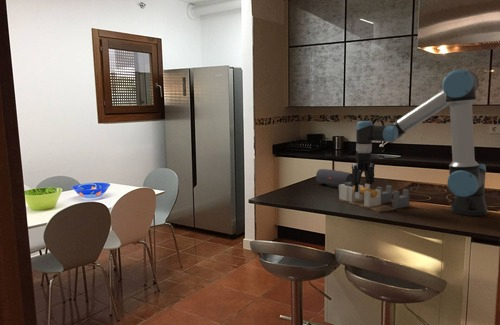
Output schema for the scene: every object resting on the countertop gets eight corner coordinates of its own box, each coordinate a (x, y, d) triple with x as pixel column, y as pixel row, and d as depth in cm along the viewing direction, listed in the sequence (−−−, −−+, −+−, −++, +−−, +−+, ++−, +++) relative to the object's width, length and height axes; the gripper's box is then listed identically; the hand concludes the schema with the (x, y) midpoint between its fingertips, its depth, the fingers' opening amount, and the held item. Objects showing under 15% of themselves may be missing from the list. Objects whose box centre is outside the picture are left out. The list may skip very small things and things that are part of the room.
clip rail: (395, 209, 201) (395, 208, 201) (380, 212, 196) (380, 211, 196) (352, 197, 227) (352, 196, 227) (337, 199, 222) (337, 198, 222)
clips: (381, 204, 208) (381, 190, 207) (367, 207, 204) (368, 192, 203) (351, 196, 226) (351, 183, 225) (338, 198, 222) (338, 184, 221)
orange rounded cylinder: (379, 197, 205) (379, 188, 205) (372, 198, 203) (373, 189, 203) (350, 189, 223) (351, 181, 222) (344, 190, 221) (344, 182, 220)
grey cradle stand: (408, 206, 207) (409, 190, 206) (397, 208, 203) (398, 191, 202) (387, 200, 219) (387, 185, 218) (376, 202, 216) (376, 186, 214)
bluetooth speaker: (315, 184, 263) (315, 169, 262) (324, 182, 269) (324, 167, 268) (345, 190, 246) (345, 173, 245) (354, 188, 252) (355, 171, 251)
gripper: (372, 150, 217) (370, 193, 220) (344, 152, 208) (343, 198, 212) (383, 151, 211) (381, 196, 214) (354, 154, 202) (353, 201, 205)
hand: (362, 197), depth 213 cm, fingers open, 6 cm apart
